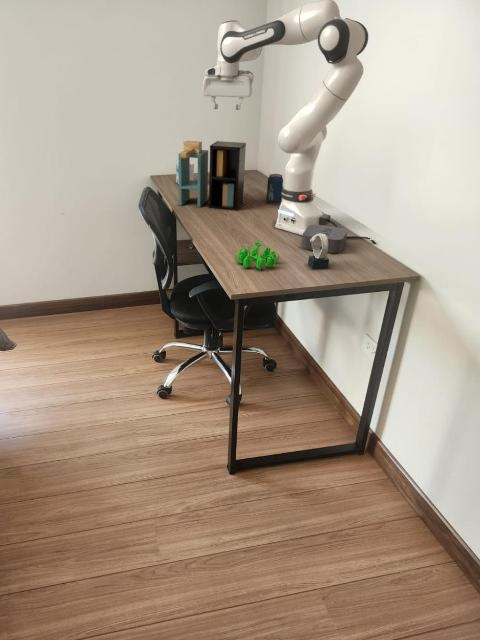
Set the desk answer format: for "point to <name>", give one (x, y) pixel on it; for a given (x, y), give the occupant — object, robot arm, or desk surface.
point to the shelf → (226, 175)
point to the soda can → (274, 188)
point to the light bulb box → (190, 171)
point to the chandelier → (257, 257)
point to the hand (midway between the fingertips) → (226, 109)
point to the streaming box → (333, 234)
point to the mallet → (191, 148)
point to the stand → (188, 184)
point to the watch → (319, 252)
